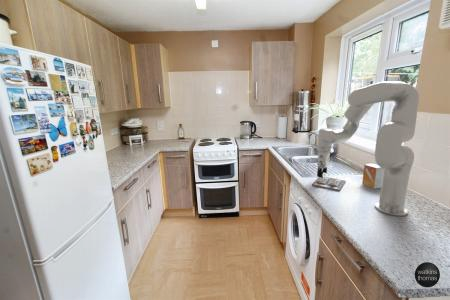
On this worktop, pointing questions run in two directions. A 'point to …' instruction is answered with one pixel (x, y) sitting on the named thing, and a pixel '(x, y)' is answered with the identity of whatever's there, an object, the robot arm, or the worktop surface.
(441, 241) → the worktop surface
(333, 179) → the switch
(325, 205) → the worktop surface
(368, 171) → the small box
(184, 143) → the worktop surface
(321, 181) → the switch
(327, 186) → the switch unit
